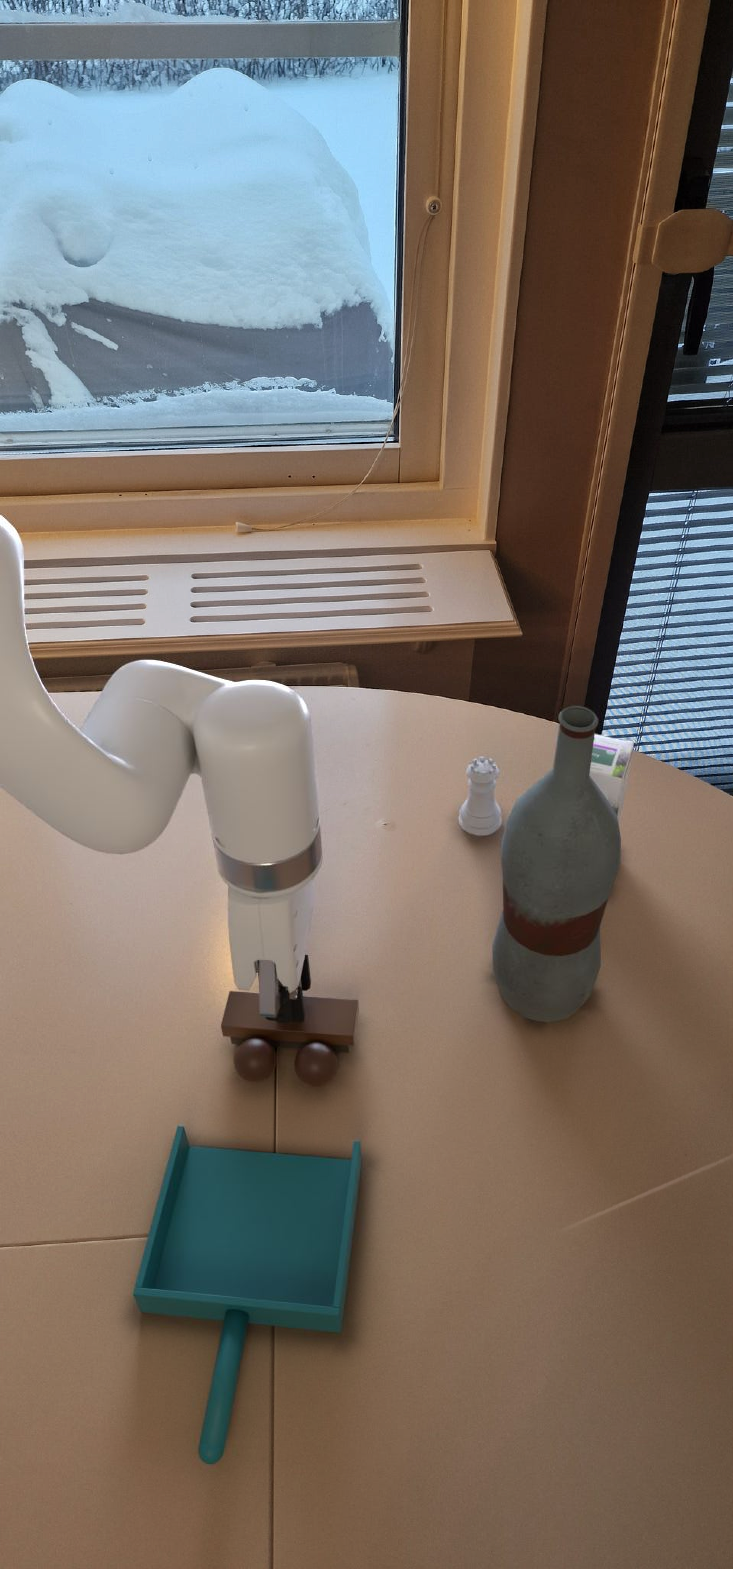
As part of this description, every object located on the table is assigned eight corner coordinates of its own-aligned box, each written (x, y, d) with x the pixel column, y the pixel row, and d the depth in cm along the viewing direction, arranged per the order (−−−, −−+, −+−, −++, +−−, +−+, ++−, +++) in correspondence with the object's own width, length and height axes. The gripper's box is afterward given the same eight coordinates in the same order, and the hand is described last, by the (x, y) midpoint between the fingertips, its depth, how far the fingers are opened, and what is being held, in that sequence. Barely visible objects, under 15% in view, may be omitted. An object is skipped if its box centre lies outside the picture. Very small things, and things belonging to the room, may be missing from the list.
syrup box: (544, 877, 101) (558, 764, 91) (559, 837, 105) (573, 725, 95) (602, 892, 99) (623, 779, 89) (615, 850, 103) (636, 738, 93)
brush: (225, 1046, 87) (209, 973, 80) (233, 1011, 90) (219, 937, 83) (354, 1056, 86) (350, 982, 79) (359, 1020, 89) (355, 945, 82)
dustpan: (183, 1145, 81) (177, 1125, 79) (361, 1161, 79) (360, 1140, 77) (103, 1458, 65) (92, 1443, 63) (323, 1484, 64) (320, 1469, 62)
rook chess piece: (461, 806, 109) (463, 747, 103) (503, 811, 108) (508, 752, 102) (455, 835, 105) (457, 776, 100) (499, 841, 105) (503, 782, 99)
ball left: (235, 1080, 86) (227, 1079, 82) (240, 1037, 87) (232, 1034, 83) (277, 1084, 85) (270, 1083, 82) (281, 1040, 86) (275, 1038, 83)
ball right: (295, 1085, 85) (289, 1083, 82) (299, 1042, 86) (294, 1038, 83) (337, 1089, 85) (333, 1087, 82) (341, 1045, 86) (337, 1042, 83)
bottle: (471, 961, 93) (488, 695, 73) (560, 930, 96) (600, 664, 76) (521, 1043, 87) (554, 775, 67) (615, 1007, 89) (674, 739, 69)
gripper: (238, 766, 79) (261, 924, 91) (189, 929, 67) (223, 1085, 79) (335, 771, 78) (345, 929, 90) (303, 936, 66) (320, 1092, 79)
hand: (288, 1001), depth 85 cm, fingers closed on brush, 2 cm apart
